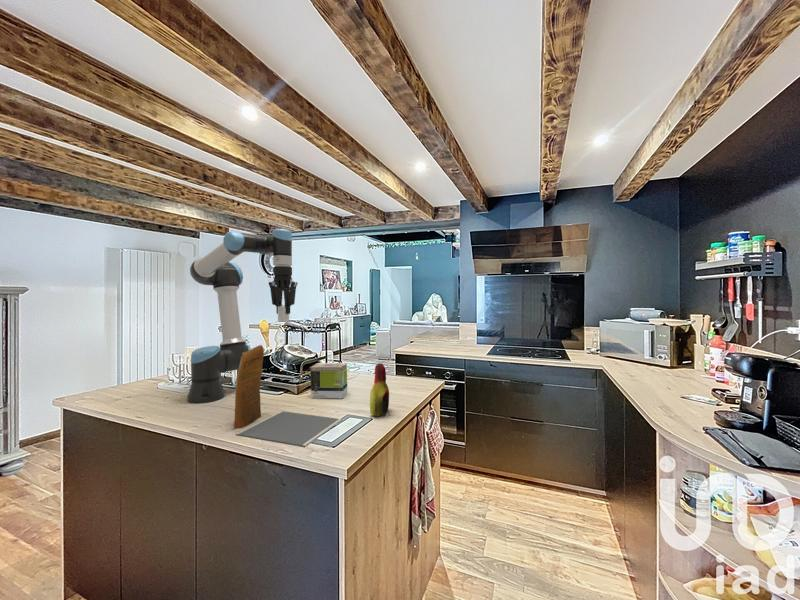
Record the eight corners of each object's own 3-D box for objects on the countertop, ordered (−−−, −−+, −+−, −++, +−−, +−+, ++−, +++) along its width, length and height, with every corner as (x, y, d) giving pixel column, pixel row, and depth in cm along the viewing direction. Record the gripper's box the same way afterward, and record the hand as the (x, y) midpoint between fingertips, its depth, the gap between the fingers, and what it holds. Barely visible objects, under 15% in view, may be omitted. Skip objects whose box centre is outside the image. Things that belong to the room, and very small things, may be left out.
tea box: (347, 392, 169) (347, 362, 169) (342, 399, 159) (342, 367, 159) (317, 392, 171) (317, 362, 170) (310, 398, 161) (310, 366, 160)
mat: (235, 435, 120) (235, 433, 120) (281, 411, 143) (281, 410, 143) (304, 446, 111) (304, 445, 111) (341, 420, 133) (341, 419, 133)
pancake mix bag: (270, 412, 142) (269, 344, 141) (243, 431, 123) (242, 352, 122) (255, 411, 143) (254, 343, 142) (226, 430, 124) (224, 352, 123)
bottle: (380, 407, 148) (380, 360, 147) (394, 409, 145) (393, 361, 145) (366, 416, 137) (366, 366, 136) (380, 419, 134) (380, 367, 134)
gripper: (261, 266, 147) (262, 322, 147) (292, 265, 142) (293, 323, 142) (273, 267, 154) (274, 320, 154) (303, 266, 149) (303, 321, 149)
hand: (283, 321), depth 148 cm, fingers open, 2 cm apart
